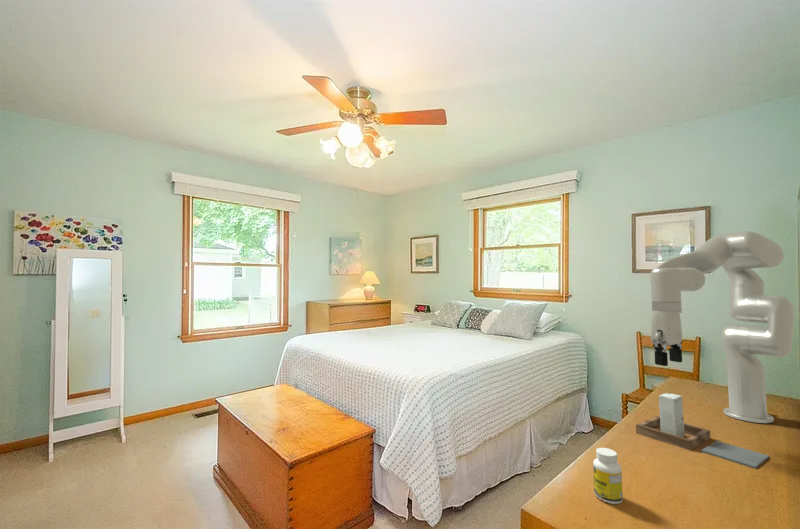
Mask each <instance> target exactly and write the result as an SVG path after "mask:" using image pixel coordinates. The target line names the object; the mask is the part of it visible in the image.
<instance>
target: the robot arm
mask: <svg viewBox="0 0 800 529" xmlns="http://www.w3.org/2000/svg"><path fill="white" fill-rule="evenodd" d="M783 261H784V251H783V249H782V248H781V246H780V245H779V244H778V243H777V242H775V241H773V240H772V239H769V238H768V237H766V236H765V235H762V234H760V233H758V232H754V231H740V232H730V233H722V234H721V233H720V234H718V235H714V236H712V237H710V238H709V239H708V240H707V241H705V242H704V243H703V244H701V245H700V246H699V247H697V248H696V249H695V250H692V251H690V252H687V253H684V254H682V255H679V256H676V257H673V258H670V259H668V260H666V261H665V262H663V263H661V264H660V265H659V266H657V267H656V268H652V269H651V271H650V277H649V282H650V294H651V296H650V297H651V312H652V313H651V314H652V315H651V324H650V340H651V341H650V342H651V343H652V346H653V351H654V364H655V365H657V366H662V367H667V366H668V364H669V362H668V355H669V361H670V362H675V363H682V362H683V351H682V349H683V346H682V343H683V340H682V339H683V329H682V320H681V315H680V314H682V313H683V308H682V306H683V305H682V292H695V291H699V290H701V289H702V288H703V287H704V286H705V283H706V277H705V274H709V273H711V272H714V271H716V270H718V269H719V268H720V267H722V268H723V270H724V271H725V272H726V274H727V276H728V277H729V280H730V295H729V296H730V297H729V298H730V299H729V315H730V316H731V317H732V318H733V320H736V321H739V322H745V323H749V322H750V323H759V324H760V323H762V324H769V326H759V325H758V326H757V325H746V324H732V325H727V326H726V327H724V328H723V329H722V330H721V331H722V332H721V342H722V344H723V348H724V352H725V358H726V371H727V372H726V373H727V374H726V375H727V390H728V391H727V392H728V407H725V408H723V414H724V415H726V416H728V417H730V418H733V419H736V420H741V421H745V422H750V423H754V424H755V423H756V424H772V423H774V422H775V418H774V417H773V416H772V415H770V414H769V413H768V407H767V405H768V404H767V392H766V390H767V388H766V373H765V367H764V364H763V362H762V360H760V359H759V357H758V356H757V355H761V356H766V357H773V358H775V357H776V358H786V357H788V356H789V355H790V354H791V352H792V350H793V349H792V348H793V341H794V326H795V325H794V320H795V317H794V316H795V312H794V311H795V310H794V306H793V303H792V302H791V301H790V299H788V298H787V297H784V296H782V295H775V294H772V295H771V294H770V295H769V294H768V295H767V294H765V292H764V290H765V289H764V288H765V287H764V286H765V283H764V280H763V279H762V277H761V276H760V275H759V273H757V272H756V271H755V270H754V269H764V268H765V269H768V268H775V267H777V266H779V265H780V264H781V263H782V262H783ZM732 318H731V319H732ZM668 346H669V349H668ZM667 349H668V350H669V351H668V352H667ZM668 353H669V354H668Z"/></svg>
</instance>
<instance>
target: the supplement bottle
mask: <svg viewBox="0 0 800 529" xmlns="http://www.w3.org/2000/svg"><path fill="white" fill-rule="evenodd" d="M595 454H596V458H595V459H593V463H592V466H593V467H592V469H593V489H594V491H593V492H594V495H595V494H596V496H597V497H598V498H600V499H602V500H603V501H606V502H608V503H607V504H609V503H611V504H610V505H619V504H622V502H623V500H624V497H623V476H622V465H621V464H620V463H619V462H618V453H617V452H616V451H615V450H613V449H611V448H608V447H598V448H596V451H595ZM596 496H595V497H596ZM597 497H596V498H597ZM598 498H597V499H598ZM600 499H599V500H600ZM603 501H602V502H603Z"/></svg>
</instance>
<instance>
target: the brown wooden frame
mask: <svg viewBox="0 0 800 529" xmlns="http://www.w3.org/2000/svg"><path fill="white" fill-rule="evenodd" d="M658 427H660V415H659V416H658V415H657V416H654V417H652V418H649V419H647V420H645V421H644V420H643V421H642V422H640V423H637V424H635V434H637V433H639V434H638V435H641V434H642V435H641V436H644V437H648V438H651V439H654V440H657V441H660V442H662V443H666V444H670V445H671V446H672V445H673V446H676V447H678V446H679V448H682V449H685V450H689V451H691V450H694V449H695V448H697V447H699V446H700V445H702V444H704V443H706V442H707V441H709V440H711V430H709V429H708V428H707V429H706V428H703V427H700V426H695V425H692V424H688V423H685V422H684V433H685V434H687V435H689V437H687V438H686V437H680V436H676V435H673V434H670V433H666V432H663V431H661V430H659V429H656V428H658ZM690 435H691V436H690Z"/></svg>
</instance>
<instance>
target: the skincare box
mask: <svg viewBox="0 0 800 529" xmlns="http://www.w3.org/2000/svg"><path fill="white" fill-rule="evenodd" d="M658 406H659V417H660V426H659V428H660V431H663V432H666V433H670V434H673V435H676V436H680V437H683V438H685V435H686V433H684V423H685V420H684V407H683V396H682V395H680V394H675V393H671V392H665V393H662V394H661V395H658Z"/></svg>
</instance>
